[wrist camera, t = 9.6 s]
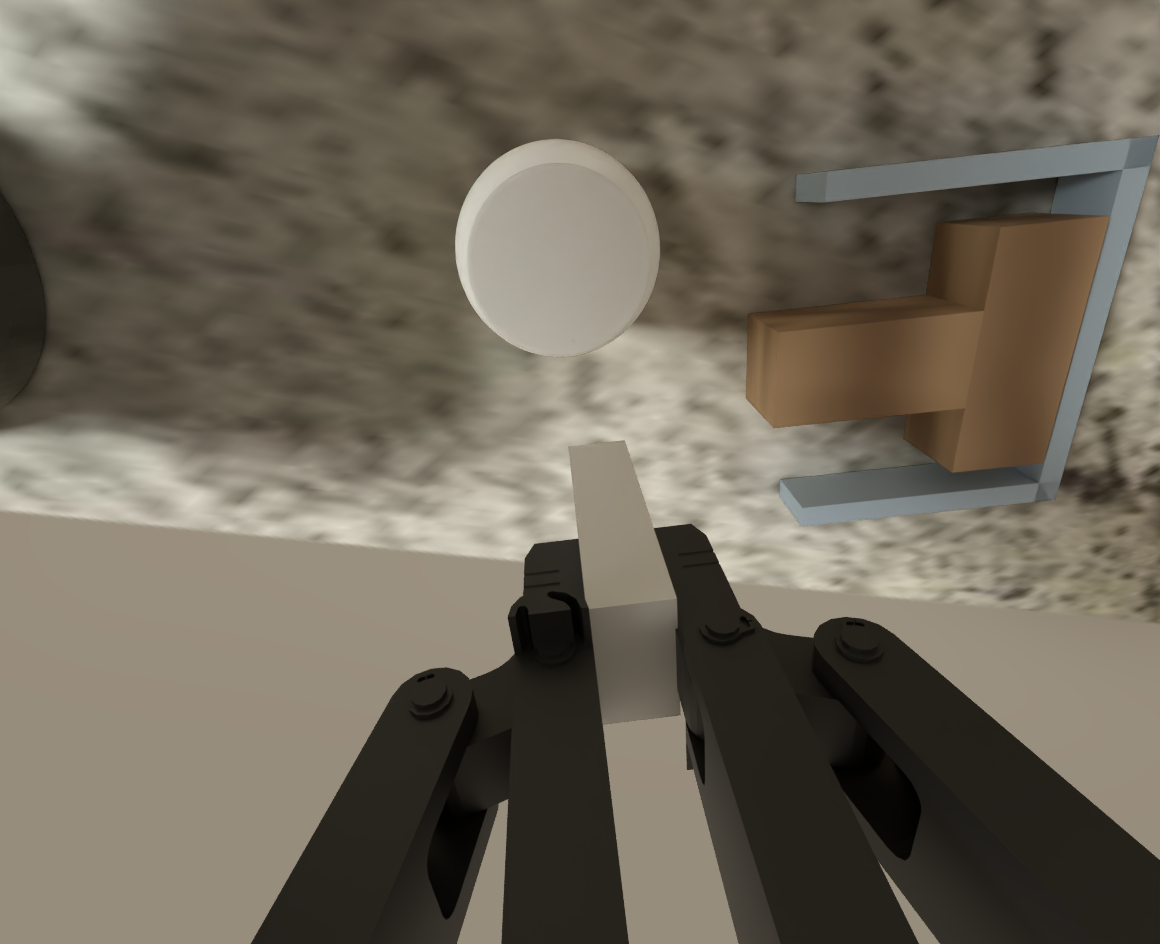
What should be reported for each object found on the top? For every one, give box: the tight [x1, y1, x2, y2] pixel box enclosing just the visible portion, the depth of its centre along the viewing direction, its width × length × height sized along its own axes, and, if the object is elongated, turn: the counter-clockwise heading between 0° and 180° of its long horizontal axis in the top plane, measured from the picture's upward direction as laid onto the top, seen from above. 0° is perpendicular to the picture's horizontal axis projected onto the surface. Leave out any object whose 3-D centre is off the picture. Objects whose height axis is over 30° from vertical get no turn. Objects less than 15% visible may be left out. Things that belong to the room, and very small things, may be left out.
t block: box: [746, 213, 1110, 473], centre depth 25 cm, size 12×10×4 cm
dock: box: [779, 135, 1159, 526], centre depth 26 cm, size 12×15×3 cm
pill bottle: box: [455, 139, 660, 357], centre depth 20 cm, size 6×6×11 cm
